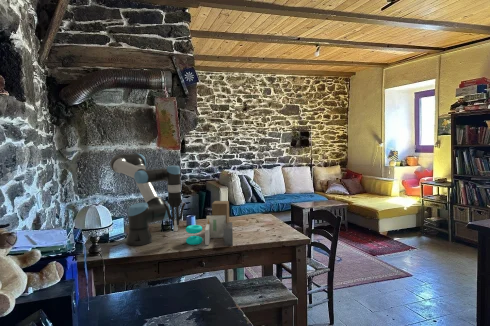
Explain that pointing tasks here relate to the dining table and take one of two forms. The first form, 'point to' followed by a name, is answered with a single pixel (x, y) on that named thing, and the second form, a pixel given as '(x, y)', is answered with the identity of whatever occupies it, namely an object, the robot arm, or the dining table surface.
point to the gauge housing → (221, 228)
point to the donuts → (194, 229)
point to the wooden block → (221, 208)
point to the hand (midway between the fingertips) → (176, 230)
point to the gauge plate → (207, 233)
